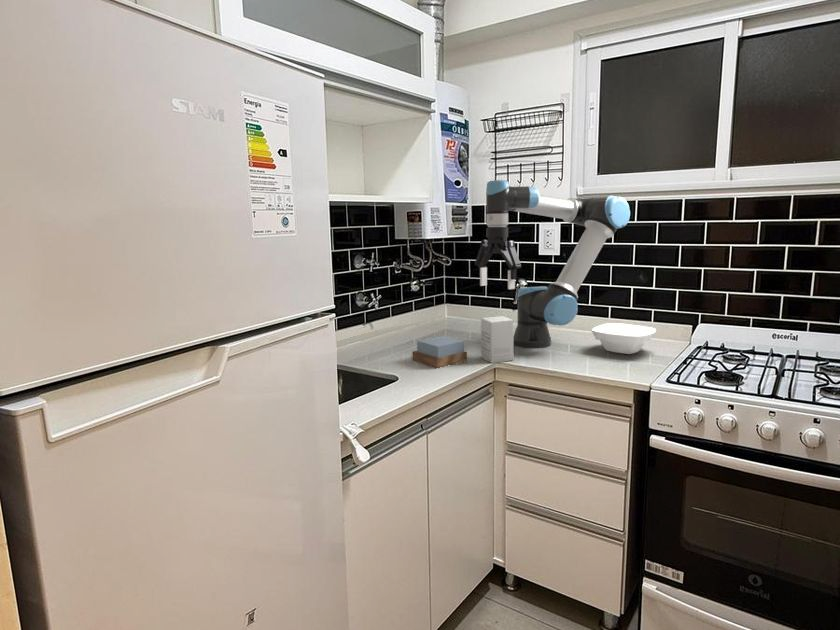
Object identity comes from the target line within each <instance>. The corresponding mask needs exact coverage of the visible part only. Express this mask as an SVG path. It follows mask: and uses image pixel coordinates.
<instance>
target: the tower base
mask: <svg viewBox="0 0 840 630" xmlns="http://www.w3.org/2000/svg"><path fill="white" fill-rule="evenodd" d="M411 357H412V361H413V362H414V363H415V362H416V363H418V364H421V365H425V366H427V367H430V366H431V367H430V368H433V367H434V368H433V369H436V368H438V369H441V368H440V367H442V368H445V366H446V367H449V366H448V365H450V366H454V365H457V364H456V363H458V364H461V363H460V362H463V363H465V362H464V361H467V362H468V352H467V351H465V350H464V352H463V353H458V354H454V355H449V356H445V357H440V358H437V357H433V356H430V355H427V354H424V353H420V352H417V350H412V353H411ZM453 364H454V365H453Z"/></svg>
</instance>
